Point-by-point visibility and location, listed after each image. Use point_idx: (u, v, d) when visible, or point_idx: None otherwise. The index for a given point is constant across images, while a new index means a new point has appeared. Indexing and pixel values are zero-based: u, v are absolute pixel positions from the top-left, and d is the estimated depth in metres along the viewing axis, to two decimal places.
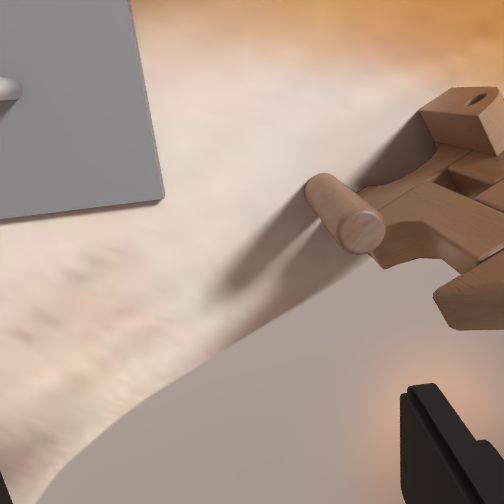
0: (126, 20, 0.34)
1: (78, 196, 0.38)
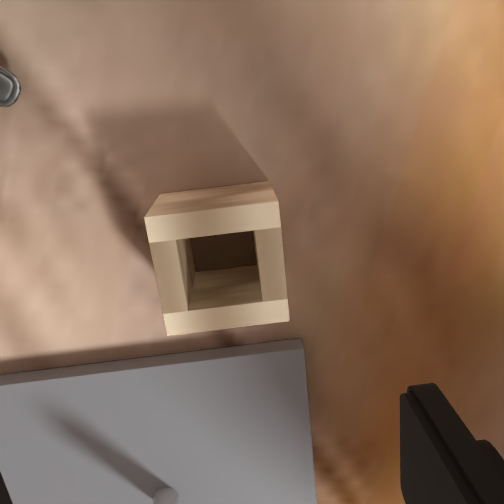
0: None
1: None
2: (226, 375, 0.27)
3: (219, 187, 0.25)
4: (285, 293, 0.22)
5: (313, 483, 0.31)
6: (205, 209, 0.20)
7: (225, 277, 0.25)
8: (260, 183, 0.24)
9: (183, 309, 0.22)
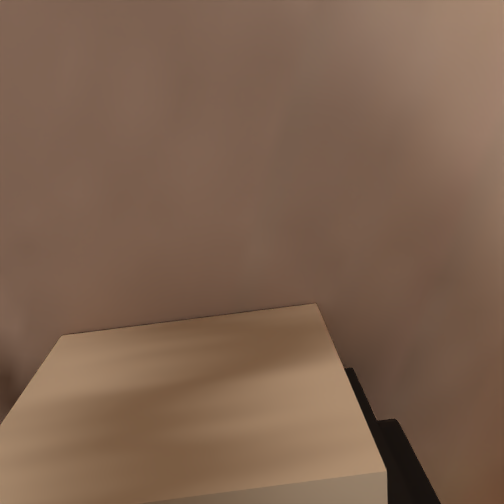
0: None
1: None
2: None
3: (199, 322, 0.10)
4: None
5: None
6: (138, 500, 0.06)
7: None
8: (297, 315, 0.10)
9: None
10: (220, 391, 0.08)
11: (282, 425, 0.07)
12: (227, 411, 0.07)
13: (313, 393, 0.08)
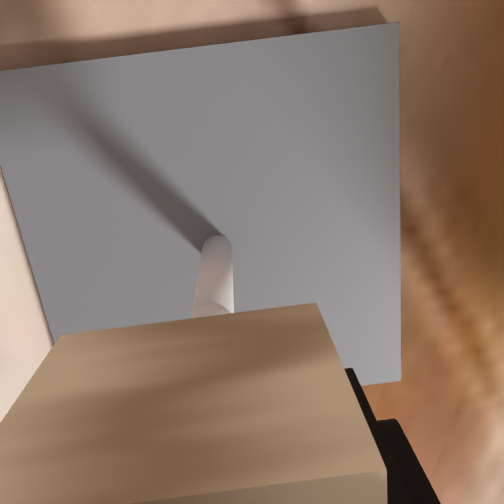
0: None
1: (66, 319, 0.25)
2: (299, 62, 0.22)
3: (199, 321, 0.10)
4: None
5: (398, 234, 0.25)
6: (137, 500, 0.06)
7: None
8: (297, 314, 0.10)
9: None
10: (220, 390, 0.08)
11: (282, 424, 0.07)
12: (227, 410, 0.07)
13: (313, 392, 0.08)
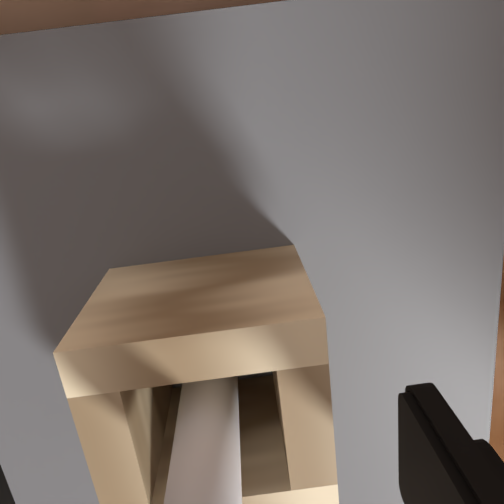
0: None
1: None
2: (352, 41, 0.13)
3: (209, 258, 0.14)
4: (333, 476, 0.11)
5: (495, 314, 0.16)
6: (177, 335, 0.10)
7: None
8: (280, 251, 0.14)
9: None
10: (225, 290, 0.12)
11: (265, 302, 0.11)
12: (230, 298, 0.11)
13: (286, 288, 0.12)
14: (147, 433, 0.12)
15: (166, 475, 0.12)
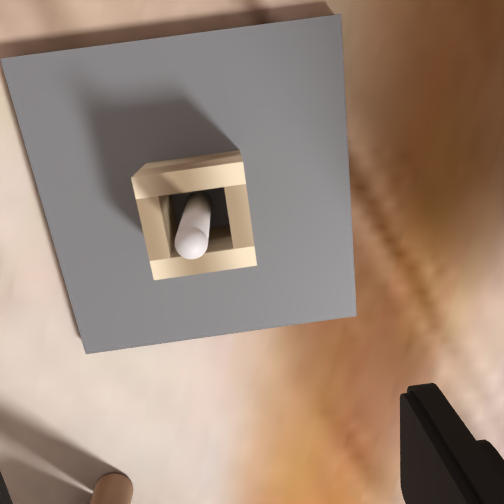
0: (271, 323, 0.33)
1: (76, 263, 0.31)
2: (262, 47, 0.27)
3: (196, 156, 0.29)
4: (252, 241, 0.26)
5: (348, 189, 0.30)
6: (182, 170, 0.24)
7: None
8: (231, 152, 0.28)
9: (166, 256, 0.26)
10: (203, 161, 0.26)
11: (219, 161, 0.25)
12: (205, 162, 0.26)
13: (230, 158, 0.26)
14: (168, 229, 0.26)
15: None
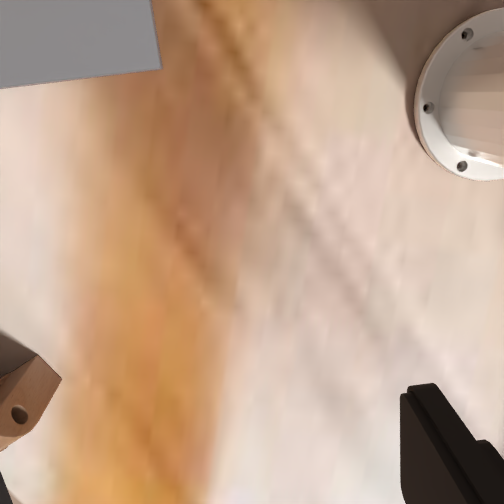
0: (72, 74, 0.32)
1: None
2: None
3: None
4: None
5: None
6: None
7: None
8: None
9: None
10: None
11: None
12: None
13: None
14: None
15: None
